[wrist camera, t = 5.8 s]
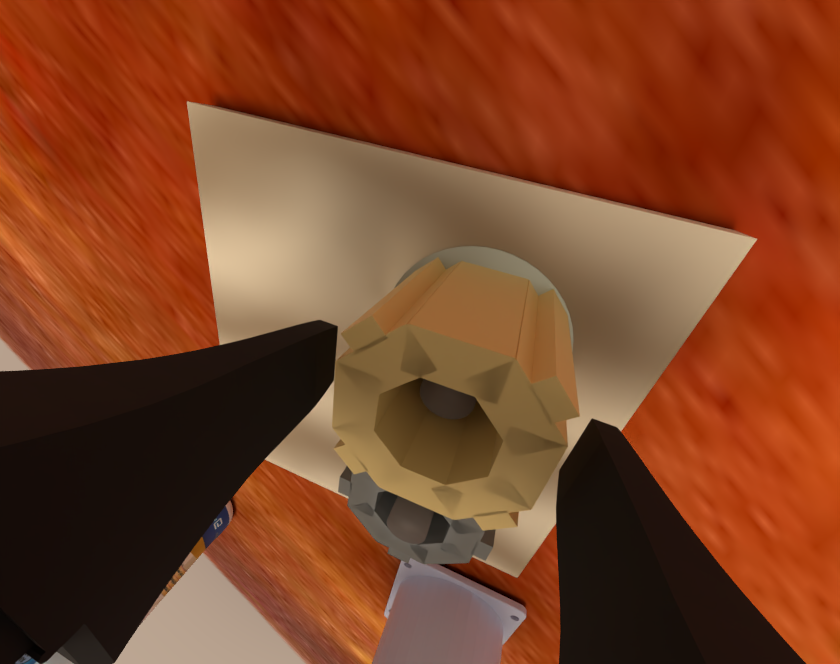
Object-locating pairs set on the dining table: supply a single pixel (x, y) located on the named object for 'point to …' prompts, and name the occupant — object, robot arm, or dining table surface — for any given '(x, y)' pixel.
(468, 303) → the ochre gear
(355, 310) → the gear board
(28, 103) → the dining table surface
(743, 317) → the dining table surface
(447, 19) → the dining table surface
